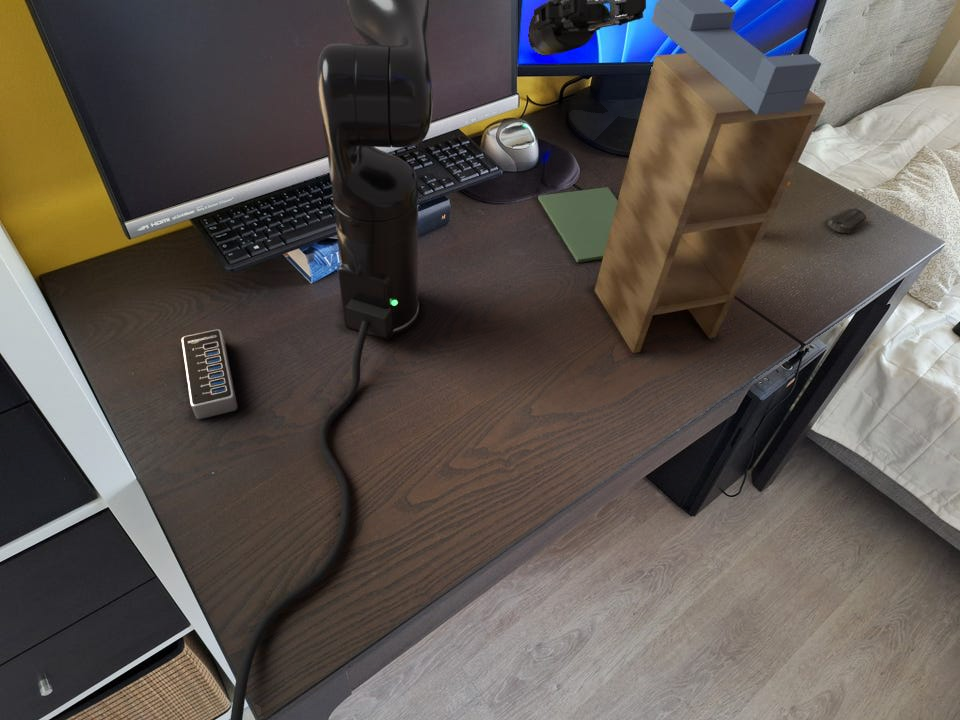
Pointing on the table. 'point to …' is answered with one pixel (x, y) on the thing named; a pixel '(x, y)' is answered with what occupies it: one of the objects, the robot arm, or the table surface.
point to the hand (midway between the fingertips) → (612, 3)
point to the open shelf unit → (695, 198)
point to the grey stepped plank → (736, 56)
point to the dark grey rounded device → (847, 220)
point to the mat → (582, 220)
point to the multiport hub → (208, 374)
